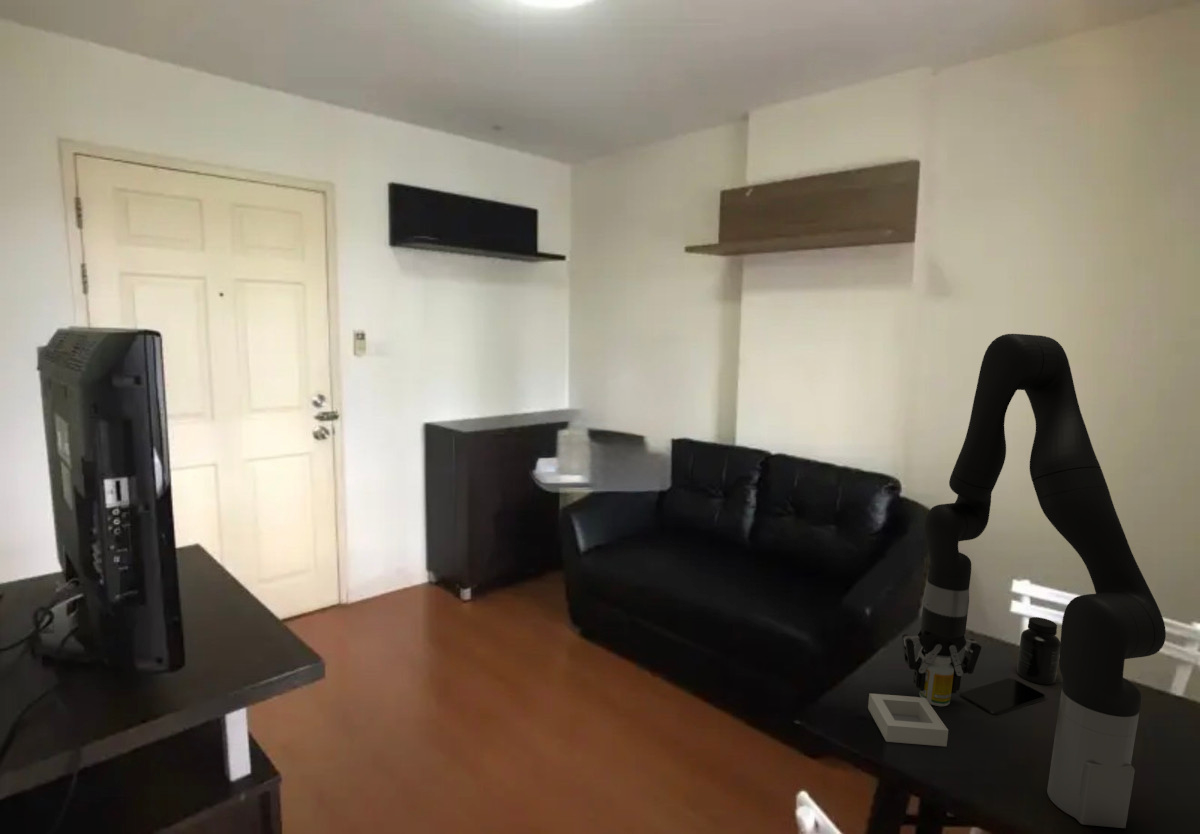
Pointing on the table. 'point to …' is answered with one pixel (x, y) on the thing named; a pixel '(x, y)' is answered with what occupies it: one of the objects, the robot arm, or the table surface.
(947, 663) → the supplement bottle
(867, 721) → the table surface
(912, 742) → the socket plate
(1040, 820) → the table surface
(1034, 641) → the supplement bottle
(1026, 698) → the smartphone
